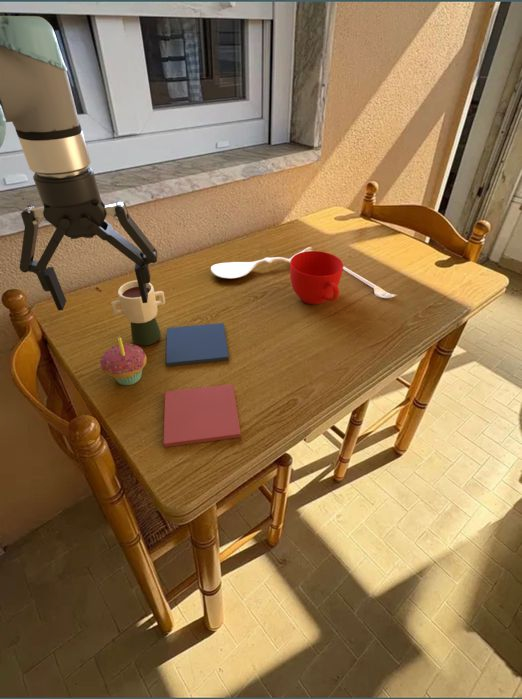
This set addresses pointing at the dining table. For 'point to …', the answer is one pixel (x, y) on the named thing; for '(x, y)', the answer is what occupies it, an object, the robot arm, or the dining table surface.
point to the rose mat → (200, 415)
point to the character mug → (139, 311)
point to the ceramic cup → (315, 276)
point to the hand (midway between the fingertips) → (104, 302)
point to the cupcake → (124, 362)
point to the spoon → (244, 266)
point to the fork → (377, 290)
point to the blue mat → (196, 344)
